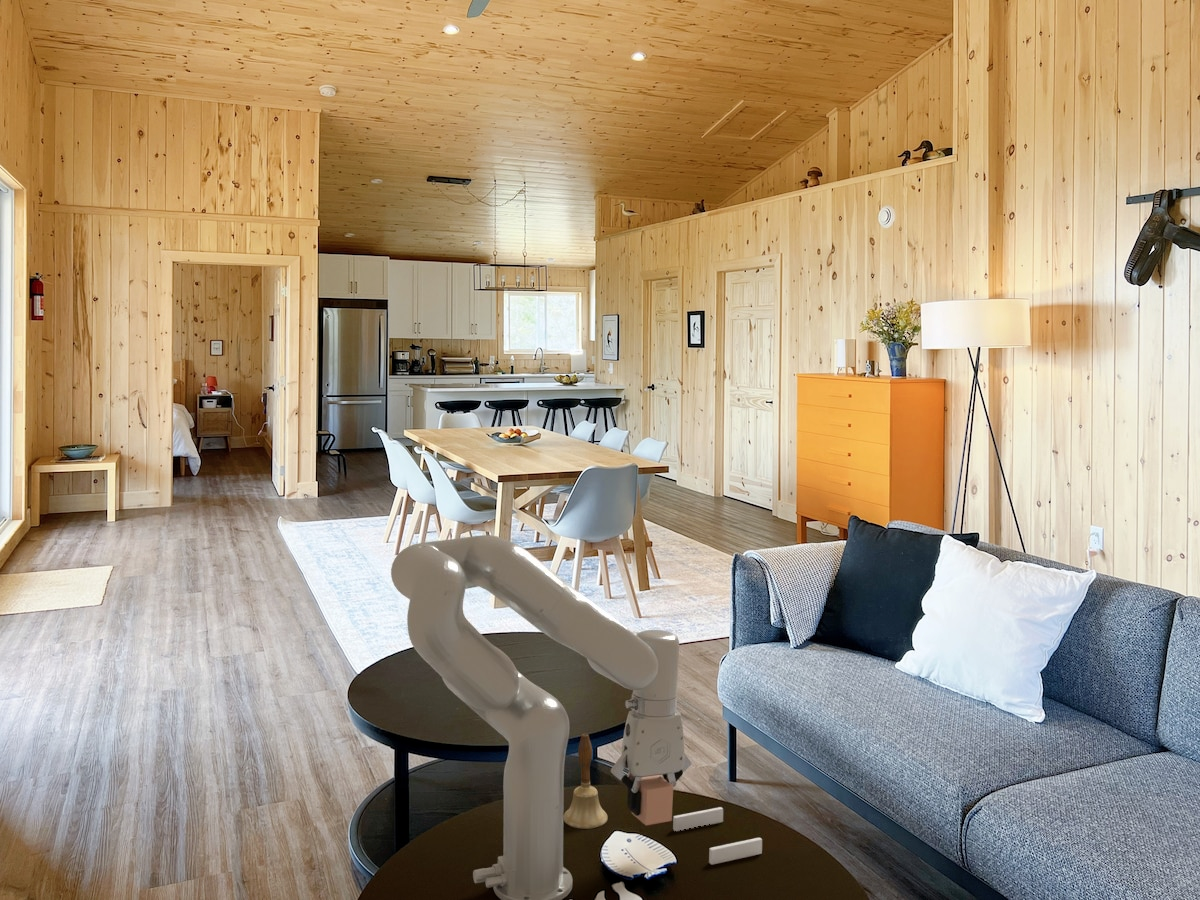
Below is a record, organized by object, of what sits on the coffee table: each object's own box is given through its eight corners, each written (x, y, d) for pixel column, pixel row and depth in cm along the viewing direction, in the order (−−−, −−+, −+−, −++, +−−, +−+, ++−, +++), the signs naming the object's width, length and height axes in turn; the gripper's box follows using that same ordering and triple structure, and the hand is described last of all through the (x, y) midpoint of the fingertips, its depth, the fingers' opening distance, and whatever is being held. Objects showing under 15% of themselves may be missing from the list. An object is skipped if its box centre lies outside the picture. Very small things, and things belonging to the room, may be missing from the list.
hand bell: (595, 832, 165) (596, 745, 164) (555, 823, 169) (555, 737, 168) (614, 814, 172) (616, 730, 172) (575, 805, 176) (576, 723, 175)
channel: (711, 864, 154) (711, 850, 154) (673, 829, 166) (673, 816, 166) (761, 853, 158) (762, 839, 158) (720, 820, 170) (721, 806, 170)
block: (645, 825, 152) (647, 789, 152) (631, 813, 157) (633, 778, 157) (671, 820, 155) (673, 785, 154) (656, 808, 159) (658, 774, 159)
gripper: (617, 716, 149) (613, 826, 149) (709, 707, 156) (704, 812, 156) (599, 702, 156) (594, 807, 156) (687, 693, 162) (682, 795, 163)
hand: (649, 808), depth 156 cm, fingers closed on block, 5 cm apart
